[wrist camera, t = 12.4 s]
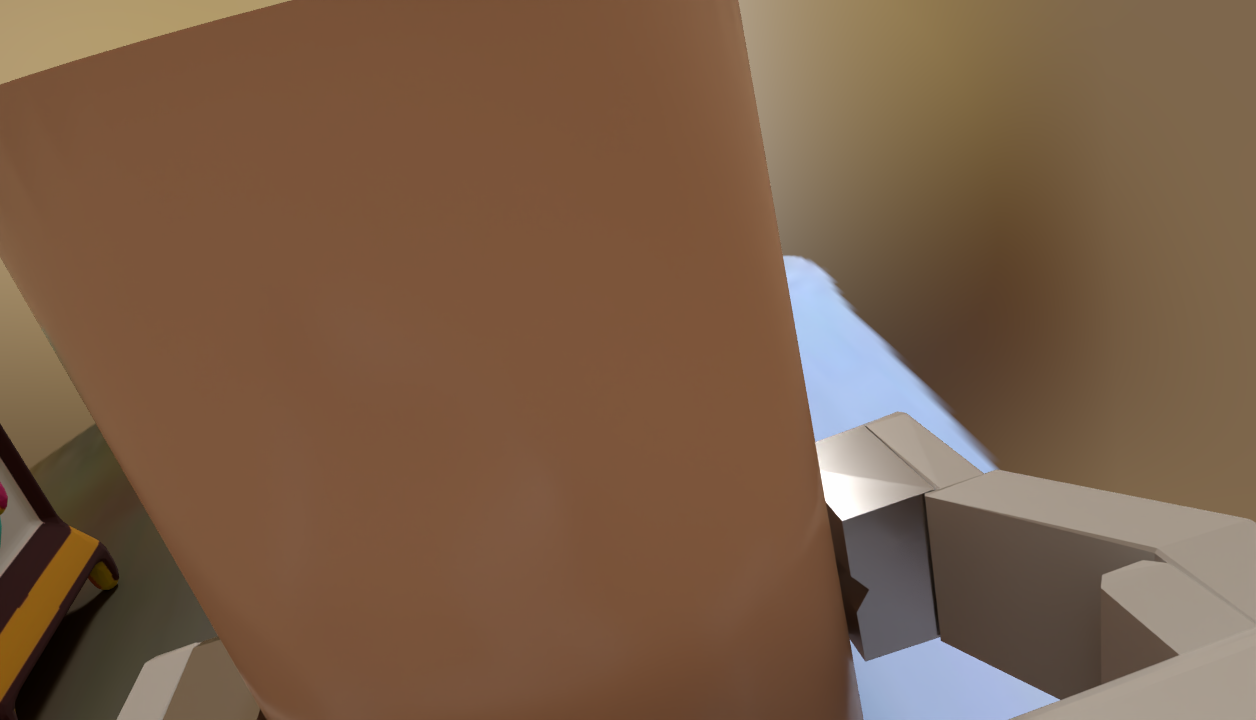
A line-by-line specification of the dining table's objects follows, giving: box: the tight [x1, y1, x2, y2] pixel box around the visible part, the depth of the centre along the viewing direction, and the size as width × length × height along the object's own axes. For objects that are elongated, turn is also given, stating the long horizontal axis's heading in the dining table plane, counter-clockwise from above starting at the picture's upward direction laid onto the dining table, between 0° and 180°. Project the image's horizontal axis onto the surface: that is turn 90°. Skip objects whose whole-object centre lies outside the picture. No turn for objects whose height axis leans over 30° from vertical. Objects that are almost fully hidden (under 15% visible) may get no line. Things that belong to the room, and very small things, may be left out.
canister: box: [0, 0, 864, 720], centre depth 9 cm, size 6×6×14 cm
